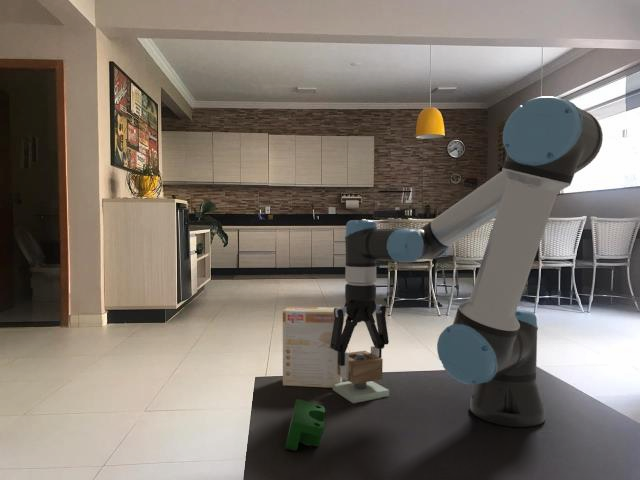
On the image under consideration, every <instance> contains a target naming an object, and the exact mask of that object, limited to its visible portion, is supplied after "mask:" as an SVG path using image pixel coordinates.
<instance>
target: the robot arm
mask: <svg viewBox="0 0 640 480" xmlns="http://www.w3.org/2000/svg"><path fill="white" fill-rule="evenodd" d="M502 130H503V131H502V145H503V146H504V150H505V152H506V157H505V159H504V162H503V166H502V169H501V171H500V172H499V173H497V174H495V175H494V176H493V177H491V178H490V179H488V180H487V181H486V182H485V183H483V184H481V185H480V186H479V187H477V188H476V189H474V190H473V191H472V192H470V193H469V194H467V195H466V196H464V197H463V198H462V199H461V200H459V201H457V202H456V203H454V204H453V205H451V207H449V208H447V209H446V210H445V211H443V212H442V213H440V214H438V216H436V217H435V218H434V219H432V220H431V221H430V222H428V223H427V224H425V225H423V226H422V227H420V228H407V227H406V228H405V227H404V228H403V227H400V228H378V227H377V226H378V225H377V224H378V223H377V221H376V220H369V219H366V220H365V219H362V220H361V219H359V220H358V219H355V220H354V219H353V220H349V221H347V222H346V224H345V237H344V240H345V241H344V242H345V245H344V246H345V272H344V273H345V278H344V279H345V282H346V284H345V286H344V289H345V290H344V291H345V292H344V298H345V304H344V305H343V306H342V307H334V308H335V309H334V316H335V319H334V325H333V332H332V338H331V344H330V348H331V349H333V350H335V351H337V352H338V365H340V377H341V378H343V380H345V381H348V376H349V353H350V352H348V351H347V349H348V346H349V343H350V341H351V339H352V335H353V333H354V330H355V328H356V327H357V326H358V323H361V322H364V323H365V325H366V328H367V331H368V333H369V337H370V339H371V341H372V344H373V345H371V346H370V353H371V354H373V355H375V356H377V357H380V358H383V357H382V350H383V349H384V348H385V345H388V344H389V343H390V341H389V335H388V334H389V333H388V327H387V318H386V312H387V306H386V305H385V304H384V305H383V304H380V303H379V304H377V303H376V299H377V285H376V284H375V283H376V282H377V261H384V262H396V263H399V264H404V263H415V262H416V261H418V260H434V259H438V258H440V257H443V256H445V254H446V253H447V252H448V249H449V247H451V246H452V245H454V244H455V243H457V242H459V241H460V240H462V239H463V238H465V237H466V236H468V235H470V234H472V233H473V232H474V231H476V230H478V229H480V228H481V227H482V226H484V225H485V224H487V223H489V222H490V221H492V220H493V219H494V222H493V226H492V229H491V232H490V235H489V238H488V241H487V245H486V248H485V251H484V254H483V257H482V259H481V262H480V266H479V268H478V271H477V275H476V278H475V281H474V284H473V287H472V290H471V293H470V296H469V298H468V299H467V300H466V301H463V302H461V303H459V305H458V307H457V311H456V314H455V316H454V320H453V323H452V324H450V325H449V326H447V327H445V329H443V331H442V332H440V335H438V340H437V344H436V346H437V347H436V350H437V351H436V352H437V357H438V359H439V361H441V362H440V363H441V364H442V367H443V369H444V370H445V371H446V373H447V374H448V375H449V376H450V377H452V378H453V379H454V380H456V381H458V382H459V383H462V384H464V385H469V386H474V387H473V392H472V394H471V396H470V405H469V406H470V407H469V409H470V412H471V413H472V414H473V415H474V416H475V417H477V418H479V419H481V420H483V421H485V422H489V423H491V424H494V425H495V424H496V425H499V426H506V427H513V428H528V427H529V428H530V427H535V426H538V425H541V424H542V423H544V422H545V420H546V408H545V405H544V403H543V401H542V397H541V393H540V390H539V387H538V382H537V356H538V355H537V353H538V347H537V346H538V345H537V344H538V342H537V341H538V329H539V327H538V324H537V323H538V322H537V321H538V320H537V316H536V314H535V313H534V312H533V311H531V310H525V309H518V307H519V304H520V301H521V298H522V296H523V292H524V290H525V288H526V284H527V280H528V278H529V276H530V272H531V270H532V267H533V263H534V262H535V259H536V257H537V253H538V250H539V247H540V244H541V241H542V239H543V235H544V232H545V230H546V228H547V224H548V222H549V218H550V215H551V212H552V210H553V207H554V204H555V202H556V198H557V195H558V194H559V193H560V192H561V191H563V190H564V189H566V188H568V187H570V186H571V184H572V182H573V179H574V176H575V175H576V173H578V172H579V171H581V170H583V169H585V168H586V167H587V166H589V165H590V163H592V162H593V161H594V160H595V159H596V157H597V156H598V154H599V153H600V151H601V148H602V145H603V129H602V126H601V125H600V122H599V121H598V119H597V118H596V117H595V116H593V115H592V114H591V113H590V112H588V111H586V110H583V109H581V108H580V107H578V106H577V105H576V104H574V103H573V102H572V101H570V100H568V99H563V98H561V97H556V96H549V95H548V96H538V97H535V98H531V99H529V100H527V101H526V102H524V103H523V104H521V105H519V106H518V107H517V108H515V110H514V111H513V112H512V113H511V114H510V115H509V117H508V118H507V120H506V122H505V124H504V127H503V129H502ZM338 308H339V309H338ZM374 313H375V318H376V320H375V318H374V315H373V314H374ZM346 315H347V316H346ZM345 317H346V319H345ZM344 322H345V323H344ZM342 329H343V332H342Z"/></svg>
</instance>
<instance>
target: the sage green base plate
mask: <svg viewBox="0 0 640 480" xmlns="http://www.w3.org/2000/svg"><path fill="white" fill-rule="evenodd" d="M363 359H366V358H365V355H364V354H361V353H359V354H356V357H355V358H354V360H363ZM332 390H333V391H334V392H335V393H336V394H339V395H340V396H341V397H342V398H344V399H346V400H347V401H348V402H349V401H350V403H352V404H357V403H361V402H366V401H372V400H377V399H378V400H379V399H383V398H388V397H390V389H388V388H387V387H384V386H382V385H380V384H378V383H376V382H375V381H370V382H364V383H358V384H353V383H351V382H349V381H348V380H346V381H342V382H341V383H335V384H333V388H332ZM382 397H383V398H382Z"/></svg>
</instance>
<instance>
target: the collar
mask: <svg viewBox="0 0 640 480" xmlns="http://www.w3.org/2000/svg"><path fill="white" fill-rule="evenodd" d="M348 353H349V376H348V380H347V381H349V382H351V383H353V384H358V383H364V382H370V381H373V382H375V381H379V380H380V381H381V380H383V365H384V364H383V362H384V360H383V357H381V358H380V357H377V356H375V355H373V354H371V352H368V351H367V350H361V351H360V350H359V351H352V352H348ZM359 353H361V354H364V355H365V358H366V359H363V360H354V358H355V357H356V354H359ZM337 374H338V375H340V365H338V362H337Z"/></svg>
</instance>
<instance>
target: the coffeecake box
mask: <svg viewBox="0 0 640 480" xmlns="http://www.w3.org/2000/svg"><path fill="white" fill-rule="evenodd" d="M335 308H336V307H325V306H324V307H323V306H321V307H319V306H316V307H315V306H311V307H310V306H287V307H286V308H285V309H283V310H282V386H284V387H285V386H289V387H309V388H311V387H312V388H327V389H329V388H332V389H333V384H335V383H341V382H343V380H344V379H343V378H341V377H340V375H338V374H337V362H338V352H337V351H335V350H333V349H331V348H330V344H331V338H332V332H333V325H334V319H335V316H334V309H335ZM337 308H338V309H339V308H340V307H337ZM343 330H344V328H343V329H342V332H343Z"/></svg>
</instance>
